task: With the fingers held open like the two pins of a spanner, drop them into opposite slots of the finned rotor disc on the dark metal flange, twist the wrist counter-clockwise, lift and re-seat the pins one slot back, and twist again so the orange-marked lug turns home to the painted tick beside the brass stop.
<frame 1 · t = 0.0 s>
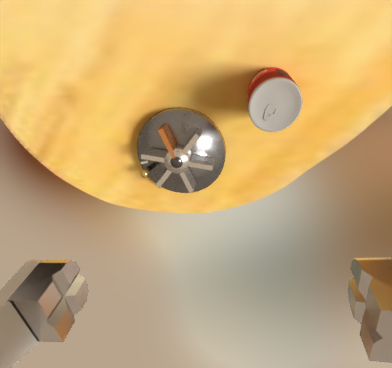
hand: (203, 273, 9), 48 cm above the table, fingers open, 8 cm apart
finned rotor disc: (178, 158, 56), point 4 cm above the table, hinge at 0.0°
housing: (182, 150, 60), on the table
canned food: (269, 90, 51), on the table
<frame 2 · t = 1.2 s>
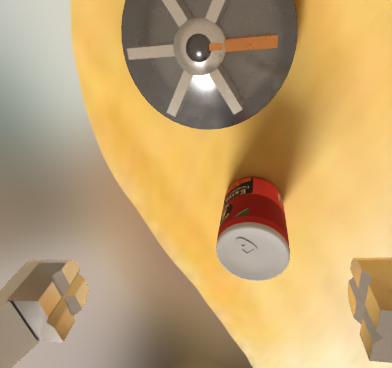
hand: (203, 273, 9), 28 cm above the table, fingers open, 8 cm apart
finned rotor disc: (201, 46, 28), point 4 cm above the table, hinge at 0.0°
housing: (207, 43, 31), on the table
canned food: (253, 198, 40), on the table
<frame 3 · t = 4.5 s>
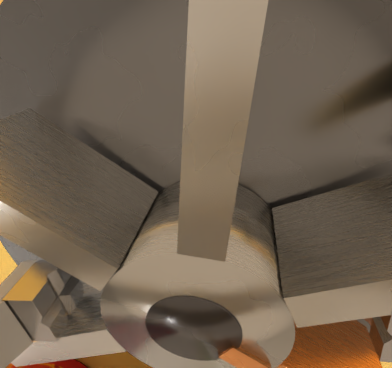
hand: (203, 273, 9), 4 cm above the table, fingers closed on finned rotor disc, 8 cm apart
finned rotor disc: (202, 277, 8), point 4 cm above the table, hinge at 13.9°, touching gripper
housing: (215, 204, 12), on the table
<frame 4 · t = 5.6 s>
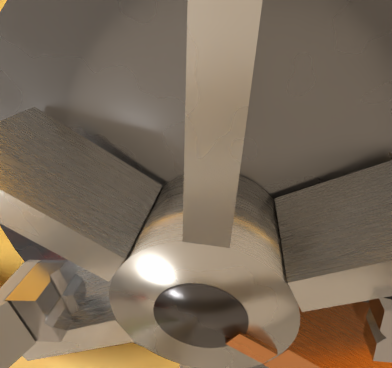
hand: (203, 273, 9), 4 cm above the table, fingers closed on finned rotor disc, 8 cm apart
finned rotor disc: (207, 268, 9), point 4 cm above the table, hinge at 43.2°, touching gripper
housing: (218, 197, 12), on the table
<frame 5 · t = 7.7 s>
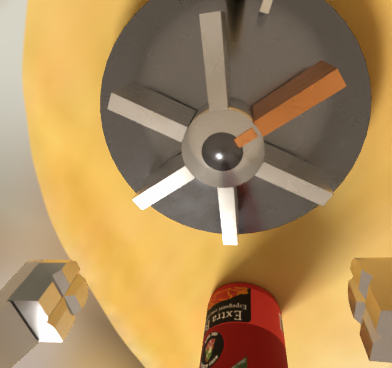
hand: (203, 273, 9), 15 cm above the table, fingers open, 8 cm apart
finned rotor disc: (224, 141, 18), point 4 cm above the table, hinge at 43.3°
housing: (227, 122, 21), on the table
canned food: (243, 304, 31), on the table
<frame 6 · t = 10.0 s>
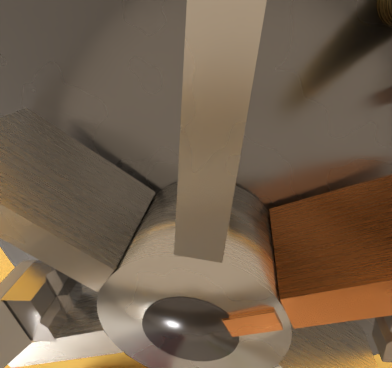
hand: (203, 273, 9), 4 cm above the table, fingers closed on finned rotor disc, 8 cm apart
finned rotor disc: (199, 278, 8), point 4 cm above the table, hinge at 61.1°, touching gripper
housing: (213, 204, 12), on the table
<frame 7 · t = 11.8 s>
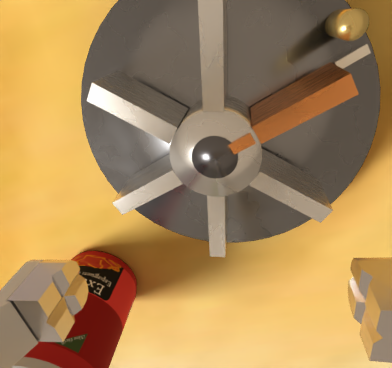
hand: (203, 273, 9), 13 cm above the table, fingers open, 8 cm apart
finned rotor disc: (217, 145, 16), point 4 cm above the table, hinge at 81.3°
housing: (221, 122, 20), on the table
canned food: (104, 275, 30), on the table
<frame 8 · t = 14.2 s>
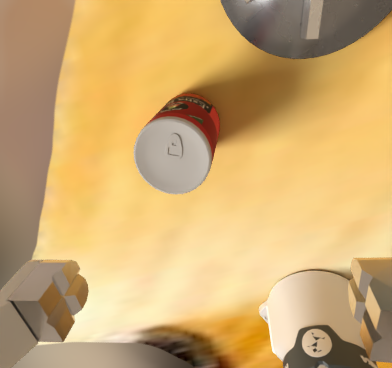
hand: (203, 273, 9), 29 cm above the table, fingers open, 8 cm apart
canned food: (190, 123, 37), on the table
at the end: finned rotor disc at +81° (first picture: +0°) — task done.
